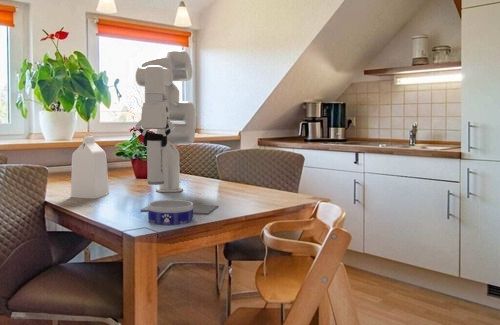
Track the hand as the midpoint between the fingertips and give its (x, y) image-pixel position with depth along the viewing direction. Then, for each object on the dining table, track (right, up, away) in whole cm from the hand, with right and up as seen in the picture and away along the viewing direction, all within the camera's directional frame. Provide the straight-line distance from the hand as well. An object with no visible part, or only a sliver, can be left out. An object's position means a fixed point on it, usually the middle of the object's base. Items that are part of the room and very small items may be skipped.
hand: (155, 145), depth 181 cm
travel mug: (0, -15, +1) cm, 15 cm away
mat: (+10, -24, +1) cm, 26 cm away
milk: (-34, -21, +28) cm, 49 cm away
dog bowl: (+9, -27, -18) cm, 34 cm away
